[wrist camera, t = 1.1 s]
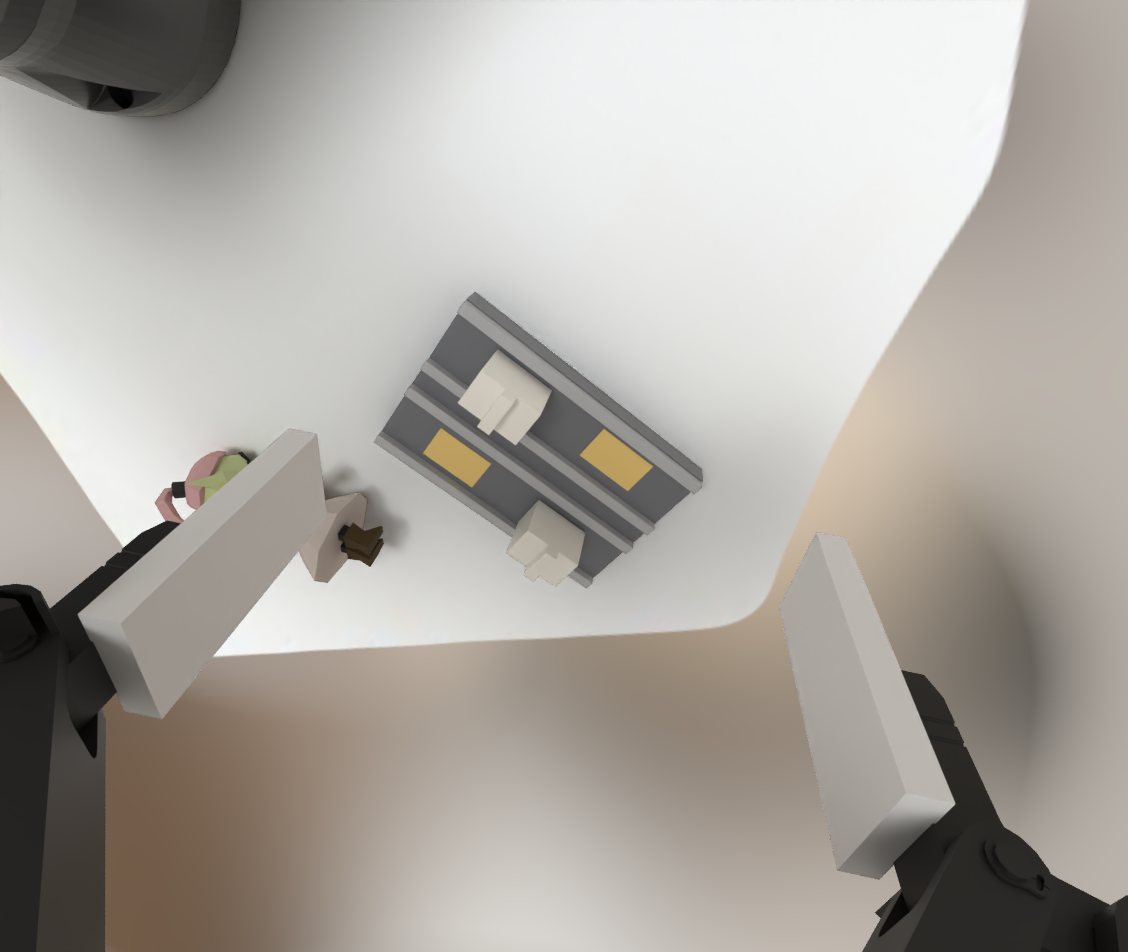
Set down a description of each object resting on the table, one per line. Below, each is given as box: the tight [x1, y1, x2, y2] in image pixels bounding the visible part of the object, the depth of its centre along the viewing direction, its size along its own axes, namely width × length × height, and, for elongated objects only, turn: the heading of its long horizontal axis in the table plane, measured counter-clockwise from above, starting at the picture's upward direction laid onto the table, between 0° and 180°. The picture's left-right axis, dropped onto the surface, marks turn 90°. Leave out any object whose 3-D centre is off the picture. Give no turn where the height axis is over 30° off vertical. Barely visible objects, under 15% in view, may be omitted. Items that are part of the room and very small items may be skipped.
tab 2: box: [506, 500, 585, 586], centre depth 38 cm, size 4×2×4 cm, turn 53°
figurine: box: [155, 451, 384, 583], centre depth 42 cm, size 9×7×15 cm
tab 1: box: [458, 349, 552, 445], centre depth 33 cm, size 4×2×4 cm, turn 53°
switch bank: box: [374, 292, 703, 588], centre depth 38 cm, size 18×12×2 cm, turn 53°
